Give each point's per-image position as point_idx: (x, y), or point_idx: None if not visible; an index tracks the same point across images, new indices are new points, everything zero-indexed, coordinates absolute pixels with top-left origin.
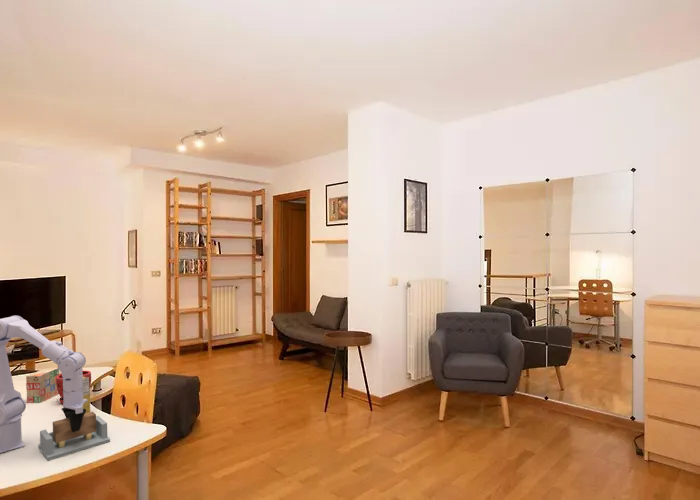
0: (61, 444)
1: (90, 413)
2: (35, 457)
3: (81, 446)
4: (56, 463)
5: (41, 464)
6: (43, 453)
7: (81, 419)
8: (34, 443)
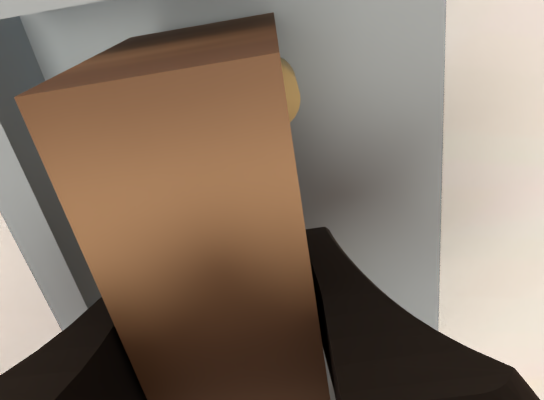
0: None
1: (134, 151)
2: None
3: (419, 159)
4: (520, 298)
5: None
6: None
7: (394, 306)
8: None
